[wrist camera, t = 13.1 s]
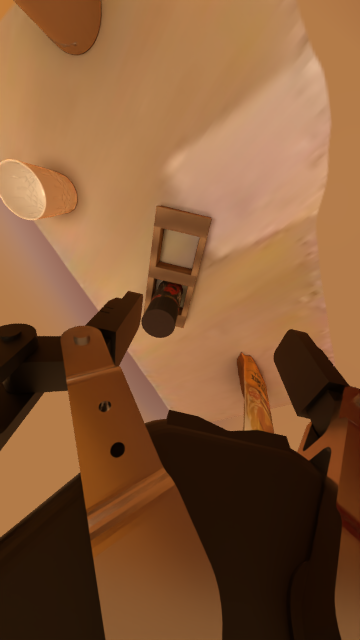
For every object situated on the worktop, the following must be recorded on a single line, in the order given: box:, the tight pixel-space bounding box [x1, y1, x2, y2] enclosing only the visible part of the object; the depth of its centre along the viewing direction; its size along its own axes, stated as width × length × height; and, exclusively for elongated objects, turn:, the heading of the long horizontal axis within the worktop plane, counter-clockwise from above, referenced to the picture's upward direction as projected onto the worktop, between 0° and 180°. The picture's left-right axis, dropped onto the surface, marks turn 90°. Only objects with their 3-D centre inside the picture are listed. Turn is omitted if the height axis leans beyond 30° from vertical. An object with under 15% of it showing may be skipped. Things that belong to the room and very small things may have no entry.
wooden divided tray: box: [144, 206, 212, 328], centre depth 43 cm, size 24×10×4 cm, turn 168°
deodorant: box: [142, 280, 183, 338], centre depth 41 cm, size 6×6×15 cm
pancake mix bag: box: [237, 352, 274, 433], centre depth 46 cm, size 7×19×28 cm, turn 29°
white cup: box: [0, 159, 77, 220], centre depth 35 cm, size 8×8×10 cm
